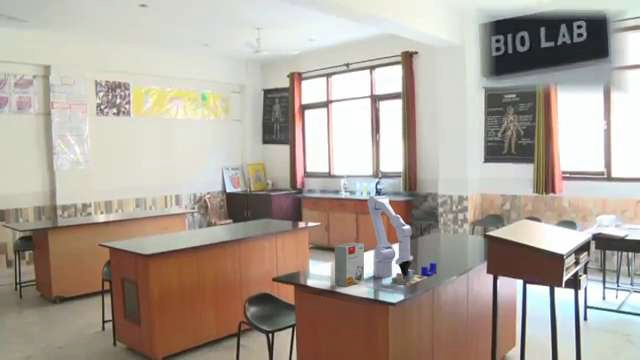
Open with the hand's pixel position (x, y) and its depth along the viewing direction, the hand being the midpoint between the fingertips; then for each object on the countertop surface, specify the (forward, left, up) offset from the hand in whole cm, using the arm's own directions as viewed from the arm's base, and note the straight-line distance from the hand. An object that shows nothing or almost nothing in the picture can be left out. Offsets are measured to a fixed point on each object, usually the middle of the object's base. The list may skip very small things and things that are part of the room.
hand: (404, 275), depth 253 cm
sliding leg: (+3, +3, -3) cm, 5 cm away
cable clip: (+17, +15, -4) cm, 23 cm away
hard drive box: (-28, +3, -4) cm, 28 cm away
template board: (+3, +3, -4) cm, 6 cm away
